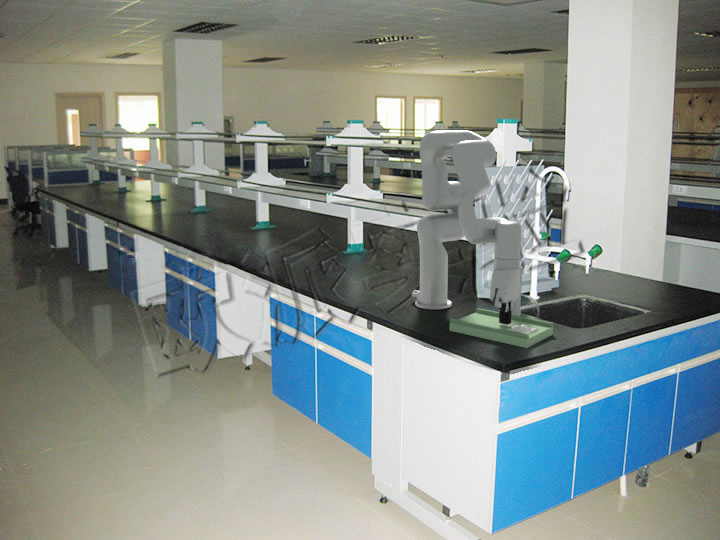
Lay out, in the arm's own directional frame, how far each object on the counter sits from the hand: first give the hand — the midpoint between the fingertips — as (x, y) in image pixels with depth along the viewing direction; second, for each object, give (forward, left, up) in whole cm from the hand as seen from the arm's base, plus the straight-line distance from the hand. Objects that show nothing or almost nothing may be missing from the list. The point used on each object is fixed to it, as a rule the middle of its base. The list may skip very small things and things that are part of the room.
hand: (505, 323), depth 207 cm
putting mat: (-2, 0, -3) cm, 4 cm away
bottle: (-7, +18, -3) cm, 20 cm away
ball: (+6, 0, -1) cm, 6 cm away
